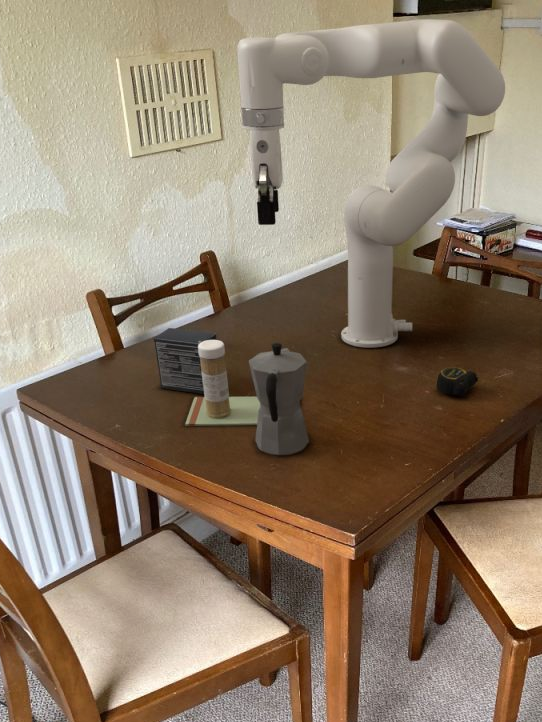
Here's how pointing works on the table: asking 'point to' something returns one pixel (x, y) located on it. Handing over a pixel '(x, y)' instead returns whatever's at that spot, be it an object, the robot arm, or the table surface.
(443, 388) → the tape measure
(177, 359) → the small box
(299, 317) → the table surface
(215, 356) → the sprinkles bottle
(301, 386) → the coffeepot
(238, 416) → the notebook
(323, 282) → the table surface
